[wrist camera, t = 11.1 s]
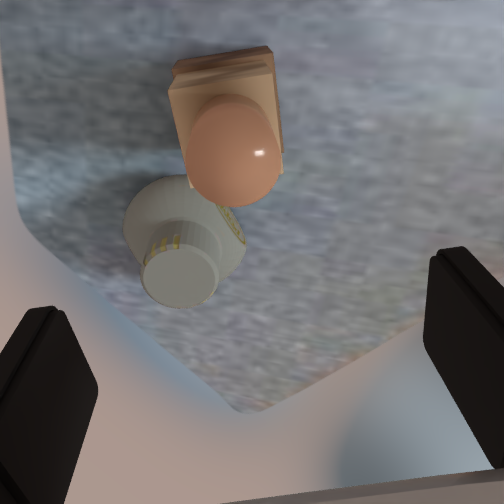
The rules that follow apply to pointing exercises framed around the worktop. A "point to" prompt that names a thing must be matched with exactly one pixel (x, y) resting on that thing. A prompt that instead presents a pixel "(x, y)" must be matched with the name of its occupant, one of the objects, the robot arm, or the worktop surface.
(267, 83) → the top block
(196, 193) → the air freshener
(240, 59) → the base block
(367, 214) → the worktop surface
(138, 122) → the worktop surface
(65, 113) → the worktop surface
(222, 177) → the brown rounded cylinder
